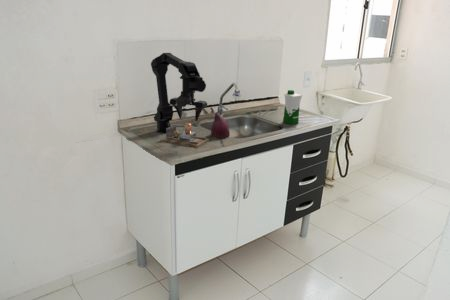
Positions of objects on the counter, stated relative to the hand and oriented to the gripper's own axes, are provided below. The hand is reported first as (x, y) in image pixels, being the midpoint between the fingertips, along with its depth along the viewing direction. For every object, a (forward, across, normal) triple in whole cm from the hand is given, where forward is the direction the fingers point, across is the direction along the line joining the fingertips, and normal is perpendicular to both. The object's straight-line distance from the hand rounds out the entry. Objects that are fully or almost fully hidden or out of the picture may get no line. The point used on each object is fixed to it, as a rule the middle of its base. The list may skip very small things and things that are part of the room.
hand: (188, 119), depth 184 cm
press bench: (+12, -1, 0) cm, 12 cm away
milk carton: (+12, +37, +66) cm, 77 cm away
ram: (+10, 0, 0) cm, 10 cm away
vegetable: (+12, +10, +18) cm, 24 cm away
